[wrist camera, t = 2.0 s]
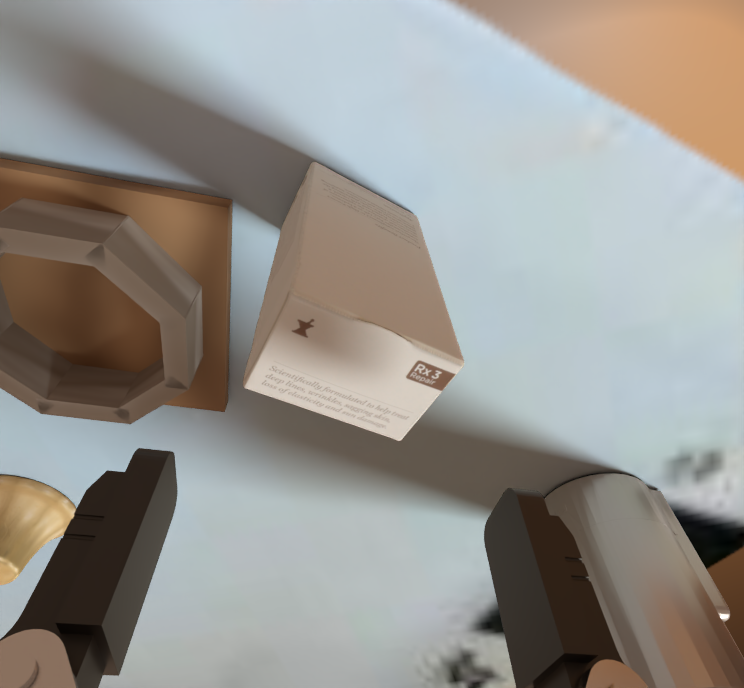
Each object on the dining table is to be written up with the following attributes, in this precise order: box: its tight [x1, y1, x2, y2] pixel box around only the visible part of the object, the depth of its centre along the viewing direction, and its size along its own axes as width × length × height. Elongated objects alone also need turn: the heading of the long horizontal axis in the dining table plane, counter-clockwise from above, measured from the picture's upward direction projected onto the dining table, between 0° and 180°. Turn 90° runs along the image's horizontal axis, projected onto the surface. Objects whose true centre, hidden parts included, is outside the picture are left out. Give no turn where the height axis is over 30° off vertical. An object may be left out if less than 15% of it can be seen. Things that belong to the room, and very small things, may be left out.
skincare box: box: [243, 162, 464, 441], centre depth 20 cm, size 6×4×12 cm
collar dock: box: [0, 158, 233, 424], centre depth 25 cm, size 14×14×4 cm
